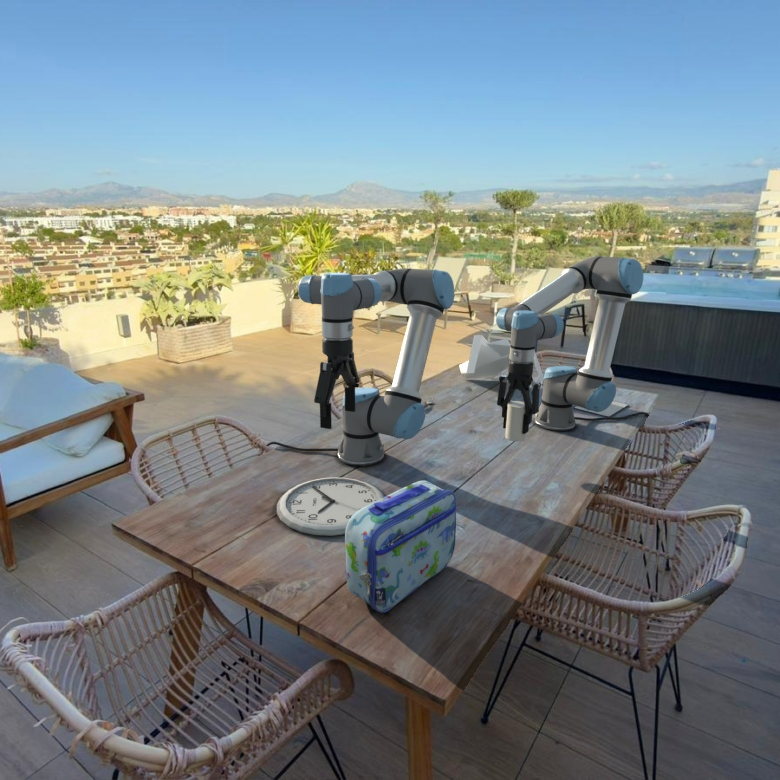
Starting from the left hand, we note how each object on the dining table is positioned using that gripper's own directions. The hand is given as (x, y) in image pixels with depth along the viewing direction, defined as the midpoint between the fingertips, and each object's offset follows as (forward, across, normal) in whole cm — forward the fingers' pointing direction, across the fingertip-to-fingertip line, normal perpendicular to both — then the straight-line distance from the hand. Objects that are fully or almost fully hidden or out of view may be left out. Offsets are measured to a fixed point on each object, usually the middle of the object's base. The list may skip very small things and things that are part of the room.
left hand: (338, 419), depth 134 cm
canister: (+18, +50, -39) cm, 66 cm away
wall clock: (+26, 0, +2) cm, 26 cm away
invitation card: (+26, +120, -66) cm, 139 cm away
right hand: (+15, +50, -39) cm, 65 cm away
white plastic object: (+26, +133, -19) cm, 136 cm away
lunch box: (+26, -23, -27) cm, 44 cm away
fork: (+26, +90, +4) cm, 93 cm away
